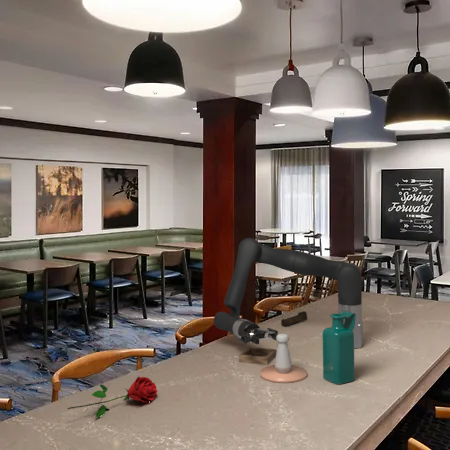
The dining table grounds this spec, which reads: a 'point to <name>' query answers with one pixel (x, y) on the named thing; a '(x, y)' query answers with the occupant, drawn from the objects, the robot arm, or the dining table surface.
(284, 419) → the dining table surface
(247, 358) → the brown wooden square frame
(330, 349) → the pitcher
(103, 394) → the flower
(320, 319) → the dining table surface
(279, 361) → the salt shaker
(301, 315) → the hand tool
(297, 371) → the terracotta pad
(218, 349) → the dining table surface
